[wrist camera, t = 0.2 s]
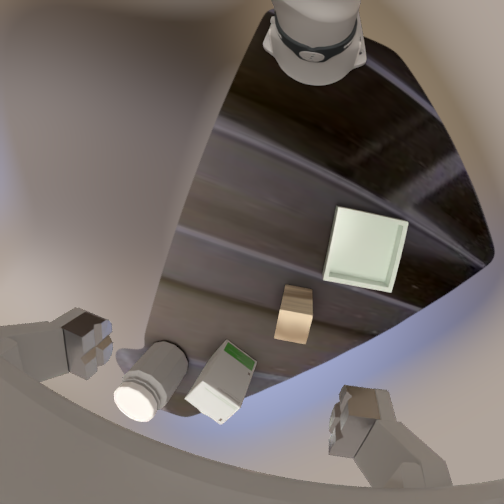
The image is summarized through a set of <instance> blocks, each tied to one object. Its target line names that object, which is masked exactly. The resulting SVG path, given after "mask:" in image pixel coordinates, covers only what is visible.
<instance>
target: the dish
mask: <svg viewBox="0 0 504 504" xmlns="http://www.w3.org/2000/svg"><path fill="white" fill-rule="evenodd" d="M408 223H409V222H407V221H404V220H401V219H397V218H393V217H388V216H384V215H380V214H375V213H370V212H366V211H361V210H356V209H352V208H347V207H342V206H337V205H336V209H335V214H334V220H333V225H332V230H331V235H330V240H329V245H328V250H327V254H326V259H325V264H324V268H323V273H322V276H323V280H326V281H331V282H336V283H342V284H347V285H353V286H358V287H363V288H369V289H374V290H380V291H385V292H392V288H393V285H394V281H395V277H396V274H397V270H398V266H399V262H400V258H401V254H402V250H403V246H404V241H405V237H406V232H407V228H408Z"/></svg>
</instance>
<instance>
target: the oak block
mask: <svg viewBox="0 0 504 504" xmlns="http://www.w3.org/2000/svg"><path fill="white" fill-rule="evenodd" d="M312 317H313V300H312V289H307V288H302V287H297V286H292V285H286V284H285V289H284V294H283V298H282V303H281V307H280V312H279V317H278V322H277V326H276V331H275V336H274V338H275V339H280V340H285V341H291V342H296V343H301V344H306V341H307V337H308V333H309V329H310V325H311V321H312Z"/></svg>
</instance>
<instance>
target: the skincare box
mask: <svg viewBox="0 0 504 504" xmlns="http://www.w3.org/2000/svg"><path fill="white" fill-rule="evenodd" d="M256 364H257V361H256V360H254V359H253V358H251V357H250V356H249V355H248V354H246V353H245V352H243V351H242V350H241V349H239V348H238V347H237V346H235V345H234V344H233V343H232V342H230V341H229V340H227V339H226V340H225V341H224V343H223V344H222V345H221V346H220V347H219V348H218V349H217V351H216V352H215V353H214V354H213V355H212V356H211V358H210V359H209V361H208V362H207V364H206V365H205V367H204V369H203V370H202V372H201V374H200V375H199V377H198V378H197V380H196V381H195V383H194V385H193V386H192V388H191V389H190V391H189V393H188V394H187V396H186V397H185V400H187V401H188V402H190V403H191V404H192V405H194V406H195V407H196V408H198V409H199V411H200V412H201V413H203V414H205V415H207V416H209V417H211V418H212V419H213V420H215V421H216V422H217V423H219V424H223V423H224V422H225V421H226V420H228V419H229V418H230V417H231V416H232V415H233V414H234V413H235V412H236V411H237V410H239V409H240V408H241V405H242V402H243V400H244V397H245V394H246V392H247V389H248V386H249V383H250V381H251V378H252V375H253V373H254V370H255V367H256Z"/></svg>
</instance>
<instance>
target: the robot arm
mask: <svg viewBox="0 0 504 504" xmlns="http://www.w3.org/2000/svg"><path fill="white" fill-rule="evenodd" d="M272 3H273V5H274V11H275V16H272V17H271V20H270V23H271V26H270V28H269V30H268V32H267V35H266V37H265V39H264V42H263V47H264V49H265V50H266V51H267V52H268V53H270V54H271V55H272V56H274V57H275V59H276V60H277V62H278V64H279V66H280V67H281V68H282V70H283V71H284V72H285V73H286V74H287V75H288V76H290V77H291V78H293V79H294V80H296V81H299V82H301V83H304V84H308V85H318V86H319V85H328V84H331V83H334V82H337V81H338V80H340V79H342V78H343V77H344V76H345V75H346V74H347V73H349V72H350V71H351V70H352V69H354V68H357V67H360V66H362V65H364V64H365V63H366V59H367V57H366V50H365V44H364V37H363V32H362V26H361V20H360V15H359V7H360V4H361V0H272ZM359 52H360V53H361V55H359ZM111 332H112V324H111V322H110V321H109V320H107V319H105V318H102V317H100V316H98V315H95V314H93V313H90V312H88V311H86V310H83V309H81V308H74V309H72V310H70V311H69V312H67V313H65V314H63V315H62V316H60V317H58V318H57V319H55V320H53V321H52V322H48V321H45V322H36V323H27V324H17V325H7V326H0V504H504V479H501V480H495V481H489V482H482V483H475V484H467V485H457V486H453V485H452V481H451V478H450V474H449V471H448V468H447V465H446V462H445V461H444V460H443V459H442V458H441V457H440V456H438V455H437V454H436V453H435V452H434V451H433V450H432V449H431V448H429V447H428V446H427V445H426V444H425V443H424V442H423V441H422V440H420V439H419V438H418V437H417V436H416V435H415V434H414V433H412V432H411V431H410V430H409V429H408V428H407V427H406V426H405V425H403V424H402V423H401V422H397V421H396V417H395V413H394V409H393V405H392V402H391V398H390V394H389V392H388V391H387V390H382V389H370V388H363V387H356V386H349V385H344V386H343V387H342V389H341V392H340V394H339V399H340V402H338V403H336V404H335V406H334V408H333V411H332V414H331V417H330V422H329V431H330V432H331V434H332V435H331V437H330V439H329V455H333V456H340V457H347V458H354V461H355V463H356V464H357V466H358V467H359V469H360V470H361V472H362V473H363V474H364V476H365V478H366V479H367V480H368V482H369V483H370V485H371V486H372V487H356V486H344V485H334V484H325V483H317V482H310V481H303V480H296V479H290V478H285V477H279V476H275V475H270V474H265V473H260V472H255V471H252V470H247V469H243V468H240V467H236V466H232V465H228V464H225V463H221V462H217V461H214V460H210V459H207V458H204V457H201V456H198V455H195V454H192V453H189V452H186V451H182V450H180V449H177V448H174V447H171V446H169V445H166V444H163V443H160V442H158V441H155V440H153V439H150V438H148V437H145V436H143V435H141V434H138V433H135V432H133V431H131V430H129V429H127V428H124V427H122V426H120V425H118V424H115V423H113V422H111V421H109V420H107V419H105V418H103V417H101V416H99V415H97V414H95V413H93V412H91V411H89V410H87V409H85V408H83V407H81V406H79V405H78V404H76V403H74V402H72V401H70V400H68V399H67V398H65V397H63V396H61V395H60V394H58V393H56V392H54V391H53V390H51V389H49V388H48V387H46V386H45V385H43V384H41V383H40V382H42V381H45V380H48V379H51V378H54V377H57V376H60V375H63V374H67V373H69V372H71V373H72V374H75V375H77V376H79V377H81V378H83V379H85V380H88V379H89V378H90V377H91V376H92V375H94V374H95V373H96V372H97V366H101V365H104V364H105V363H106V362H107V361H108V360H109V359H110V356H111V354H112V350H113V342H112V340H111V338H110V336H109V335H110V333H111Z"/></svg>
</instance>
